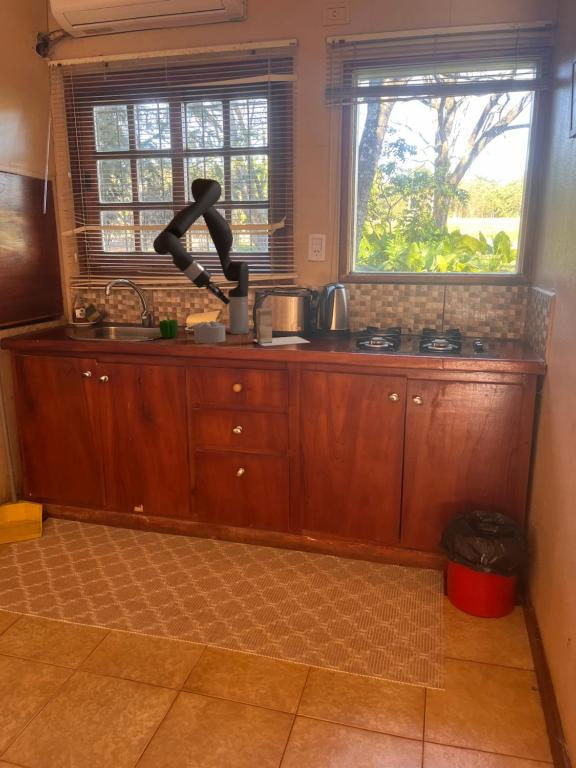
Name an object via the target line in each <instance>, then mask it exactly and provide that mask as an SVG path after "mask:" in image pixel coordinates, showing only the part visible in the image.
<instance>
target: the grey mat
mask: <svg viewBox="0 0 576 768" xmlns="http://www.w3.org/2000/svg"><path fill="white" fill-rule="evenodd" d="M252 341H254V342H256V343H257V344H259V345H260V346H263V347H268V346H280V345H281V346H283V345H295V344H306V343H308V344H309V343H310V341H308V340H306V339H305V338H302V337H300V336H295V335H294V336H286V337H285V336H284V337H272V343H263V344H261V343H259V342H257V338H256V339H252Z"/></svg>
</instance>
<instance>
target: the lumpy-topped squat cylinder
mask: <svg viewBox="0 0 576 768" xmlns="http://www.w3.org/2000/svg"><path fill="white" fill-rule="evenodd" d="M193 336H194V337H193V338H194V343H195V344H198V343H206V344H205V345H214V344H215V345H216V343H222V342H225V341H226V325H224V324H222V323H221V322H219V321H214V320H211V321H201V322H198V323H197V324H196V325H193Z"/></svg>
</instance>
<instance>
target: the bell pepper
mask: <svg viewBox="0 0 576 768" xmlns="http://www.w3.org/2000/svg"><path fill="white" fill-rule="evenodd" d="M166 318H167V319H163V320H160V321H159V322H158V326H159V327H158V328H159V331H160V334H161V337H162V338H163V339H174V338H176V337H177V335H178V330H179V322H178V320H176V319H170V315H166Z"/></svg>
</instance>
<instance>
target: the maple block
mask: <svg viewBox="0 0 576 768" xmlns="http://www.w3.org/2000/svg"><path fill="white" fill-rule="evenodd" d="M255 311H256V313H255V314H256V339H257V342H259V343H261V344H263V343H272V338H273V329H272V328H273V326H272V325H273V322H272V321H273V319H272V317H273V316H272V309H271V308H268V307H267V308H266V307H265V308H256V310H255ZM257 342H256V343H257ZM259 343H258V344H259ZM261 344H260V345H261Z"/></svg>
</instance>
